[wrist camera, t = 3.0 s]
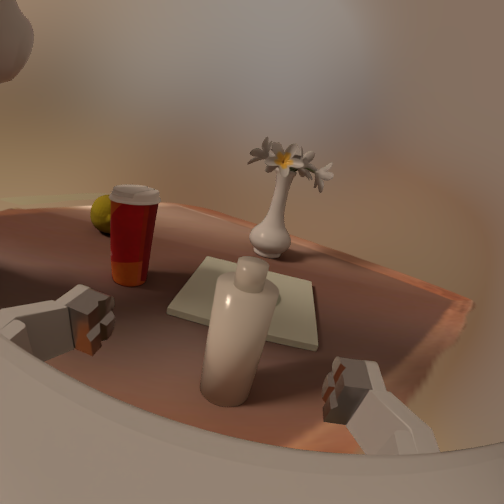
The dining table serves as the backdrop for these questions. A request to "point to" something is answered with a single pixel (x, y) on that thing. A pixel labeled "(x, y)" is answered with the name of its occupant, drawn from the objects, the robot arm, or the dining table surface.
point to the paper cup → (132, 232)
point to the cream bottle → (237, 331)
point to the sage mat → (285, 314)
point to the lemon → (101, 213)
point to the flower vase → (282, 194)
